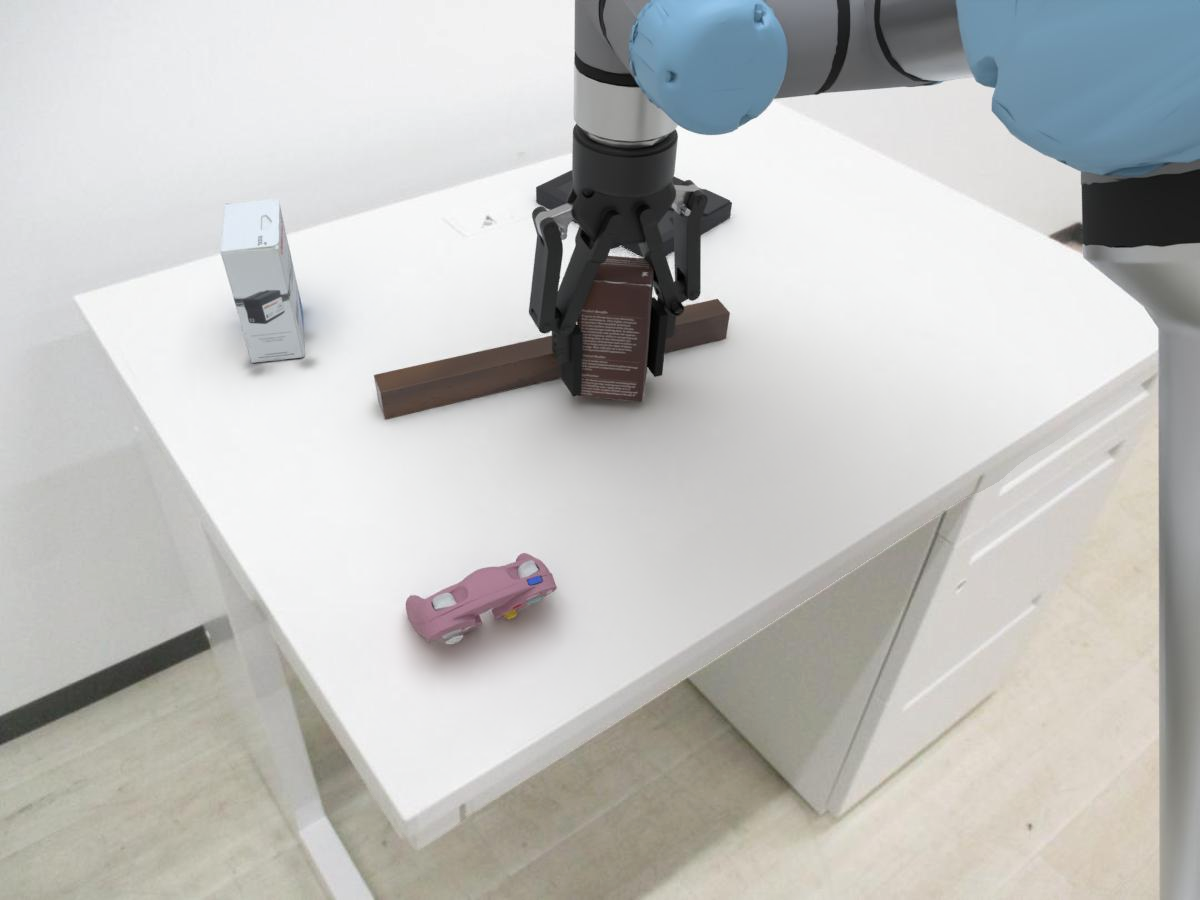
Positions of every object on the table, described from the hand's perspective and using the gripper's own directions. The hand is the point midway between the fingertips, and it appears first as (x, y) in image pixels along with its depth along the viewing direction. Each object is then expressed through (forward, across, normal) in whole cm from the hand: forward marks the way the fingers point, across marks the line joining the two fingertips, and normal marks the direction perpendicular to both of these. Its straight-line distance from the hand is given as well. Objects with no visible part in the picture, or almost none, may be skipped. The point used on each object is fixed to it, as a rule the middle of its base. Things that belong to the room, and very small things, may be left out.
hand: (612, 376), depth 83 cm
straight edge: (+2, +3, -5) cm, 6 cm away
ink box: (+2, +26, -19) cm, 32 cm away
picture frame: (+2, -15, -29) cm, 33 cm away
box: (+1, 0, 0) cm, 1 cm away
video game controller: (+2, +18, +19) cm, 26 cm away
